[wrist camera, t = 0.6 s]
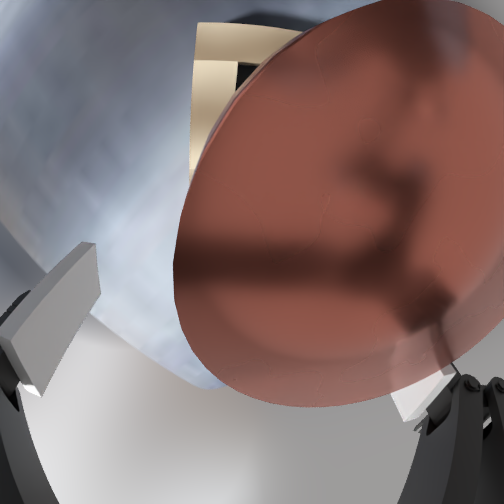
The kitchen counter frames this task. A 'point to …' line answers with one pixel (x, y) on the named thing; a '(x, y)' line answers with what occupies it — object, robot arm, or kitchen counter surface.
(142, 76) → the kitchen counter surface
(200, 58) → the block
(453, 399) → the robot arm
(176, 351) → the kitchen counter surface
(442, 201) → the steel peg
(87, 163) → the kitchen counter surface
